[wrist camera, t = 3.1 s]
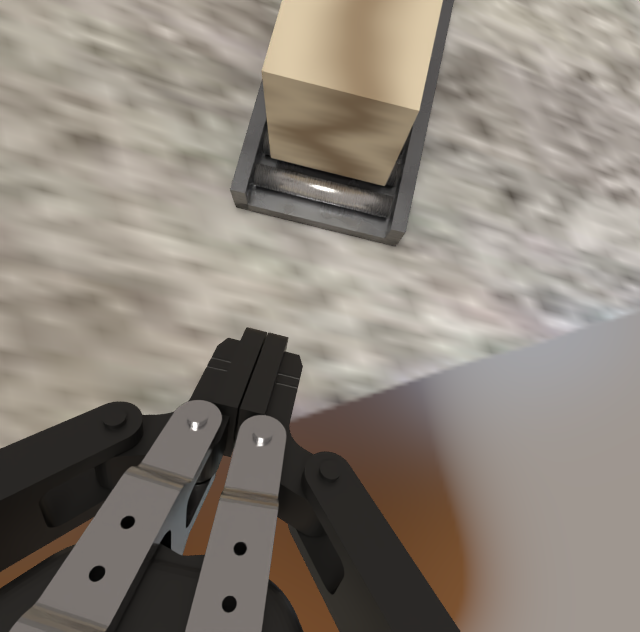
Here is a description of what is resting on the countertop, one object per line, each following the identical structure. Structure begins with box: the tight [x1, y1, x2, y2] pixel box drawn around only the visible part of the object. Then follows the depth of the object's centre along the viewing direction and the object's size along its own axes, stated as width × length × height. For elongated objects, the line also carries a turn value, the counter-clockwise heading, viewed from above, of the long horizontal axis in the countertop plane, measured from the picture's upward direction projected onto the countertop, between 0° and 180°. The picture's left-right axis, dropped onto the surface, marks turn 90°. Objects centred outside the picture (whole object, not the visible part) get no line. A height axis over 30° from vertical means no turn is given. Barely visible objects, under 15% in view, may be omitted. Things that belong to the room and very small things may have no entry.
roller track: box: [230, 0, 454, 246], centre depth 29 cm, size 12×24×7 cm, turn 167°
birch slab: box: [262, 0, 443, 186], centre depth 25 cm, size 8×10×8 cm
